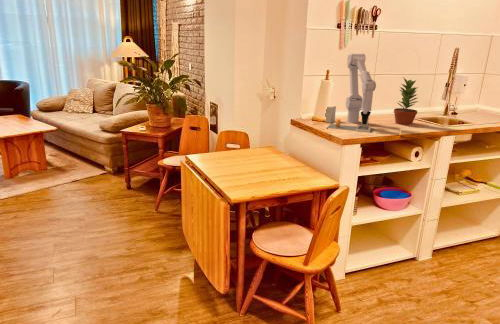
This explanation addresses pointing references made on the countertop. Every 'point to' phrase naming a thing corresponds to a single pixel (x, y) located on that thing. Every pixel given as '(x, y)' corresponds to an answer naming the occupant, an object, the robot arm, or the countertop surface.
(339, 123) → the post
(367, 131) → the beige open rectangular frame
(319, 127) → the countertop surface
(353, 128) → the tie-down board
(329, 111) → the small box
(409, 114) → the potted plant
